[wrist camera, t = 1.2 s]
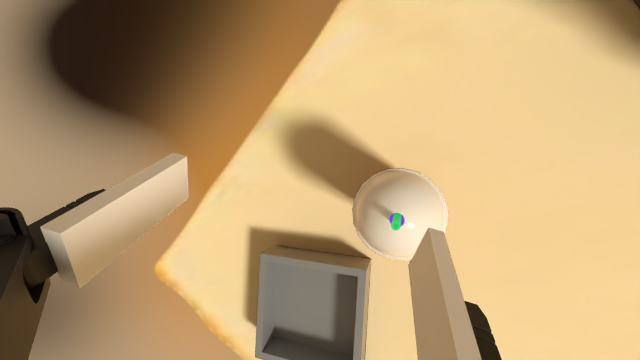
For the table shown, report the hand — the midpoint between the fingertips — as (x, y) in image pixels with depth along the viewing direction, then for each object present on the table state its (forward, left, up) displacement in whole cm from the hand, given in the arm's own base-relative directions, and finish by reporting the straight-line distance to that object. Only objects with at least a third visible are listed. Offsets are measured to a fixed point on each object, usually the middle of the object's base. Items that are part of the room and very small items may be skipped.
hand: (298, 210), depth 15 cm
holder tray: (+6, +17, -26) cm, 32 cm away
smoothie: (-5, +1, -26) cm, 27 cm away
